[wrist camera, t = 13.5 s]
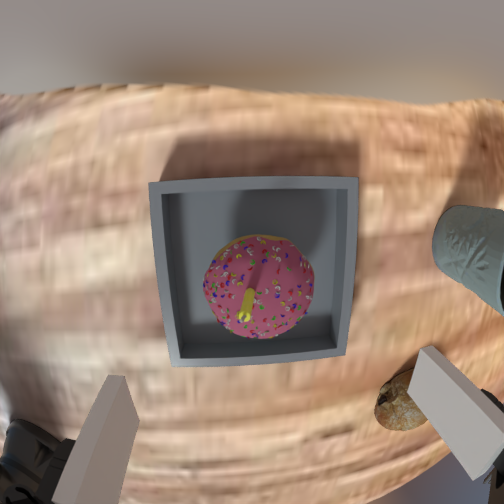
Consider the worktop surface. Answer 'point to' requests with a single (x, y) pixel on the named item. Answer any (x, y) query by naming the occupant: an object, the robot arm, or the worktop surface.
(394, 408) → the bread roll
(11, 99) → the worktop surface
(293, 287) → the cupcake
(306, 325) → the serving tray
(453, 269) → the grey cup
